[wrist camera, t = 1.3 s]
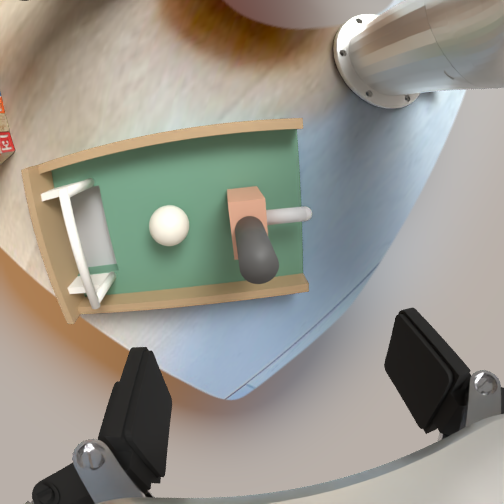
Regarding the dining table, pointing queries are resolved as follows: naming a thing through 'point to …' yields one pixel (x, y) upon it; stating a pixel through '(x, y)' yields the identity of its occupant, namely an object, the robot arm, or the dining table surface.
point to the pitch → (153, 197)
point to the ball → (169, 225)
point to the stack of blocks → (4, 136)
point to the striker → (257, 232)
